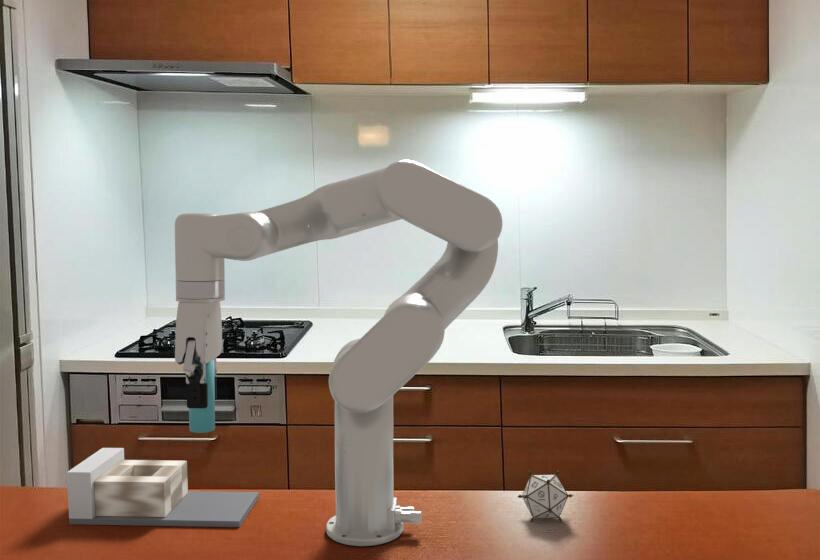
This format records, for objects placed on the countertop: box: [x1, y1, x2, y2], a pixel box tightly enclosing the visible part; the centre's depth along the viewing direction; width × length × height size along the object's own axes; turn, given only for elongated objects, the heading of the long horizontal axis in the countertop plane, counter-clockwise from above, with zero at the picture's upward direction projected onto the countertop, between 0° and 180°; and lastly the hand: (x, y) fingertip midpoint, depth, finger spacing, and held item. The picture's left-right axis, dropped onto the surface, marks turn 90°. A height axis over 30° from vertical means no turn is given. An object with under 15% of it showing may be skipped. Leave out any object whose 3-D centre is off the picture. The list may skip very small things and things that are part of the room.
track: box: [66, 447, 260, 528], centre depth 131 cm, size 29×13×9 cm, turn 87°
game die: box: [517, 470, 574, 523], centre depth 127 cm, size 9×8×10 cm
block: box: [94, 459, 189, 517], centre depth 131 cm, size 12×11×6 cm
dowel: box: [188, 359, 216, 434], centre depth 120 cm, size 4×4×12 cm
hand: (202, 402), depth 121 cm, fingers closed on dowel, 4 cm apart
